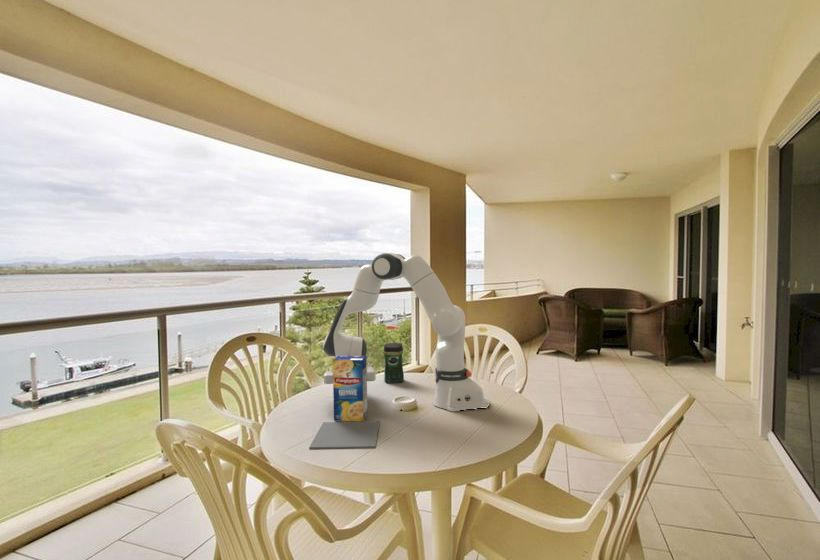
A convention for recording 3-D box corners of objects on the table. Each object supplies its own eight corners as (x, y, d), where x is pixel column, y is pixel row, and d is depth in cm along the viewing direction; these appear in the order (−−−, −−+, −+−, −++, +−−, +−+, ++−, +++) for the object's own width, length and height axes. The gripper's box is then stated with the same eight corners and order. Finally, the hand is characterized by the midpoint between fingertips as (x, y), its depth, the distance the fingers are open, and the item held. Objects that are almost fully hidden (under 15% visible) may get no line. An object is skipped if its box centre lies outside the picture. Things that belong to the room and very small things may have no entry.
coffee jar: (404, 378, 190) (403, 341, 189) (403, 383, 182) (403, 344, 181) (384, 378, 190) (383, 341, 189) (383, 383, 182) (382, 344, 181)
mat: (379, 422, 135) (379, 421, 135) (375, 447, 116) (375, 446, 116) (323, 423, 135) (323, 422, 135) (309, 448, 116) (309, 447, 116)
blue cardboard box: (363, 421, 137) (362, 360, 136) (333, 420, 138) (332, 359, 137) (367, 414, 143) (366, 355, 143) (339, 413, 145) (338, 355, 144)
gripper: (323, 366, 156) (321, 375, 143) (373, 363, 160) (376, 371, 146) (323, 381, 156) (322, 392, 143) (374, 378, 160) (377, 388, 146)
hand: (350, 381), depth 144 cm, fingers closed
